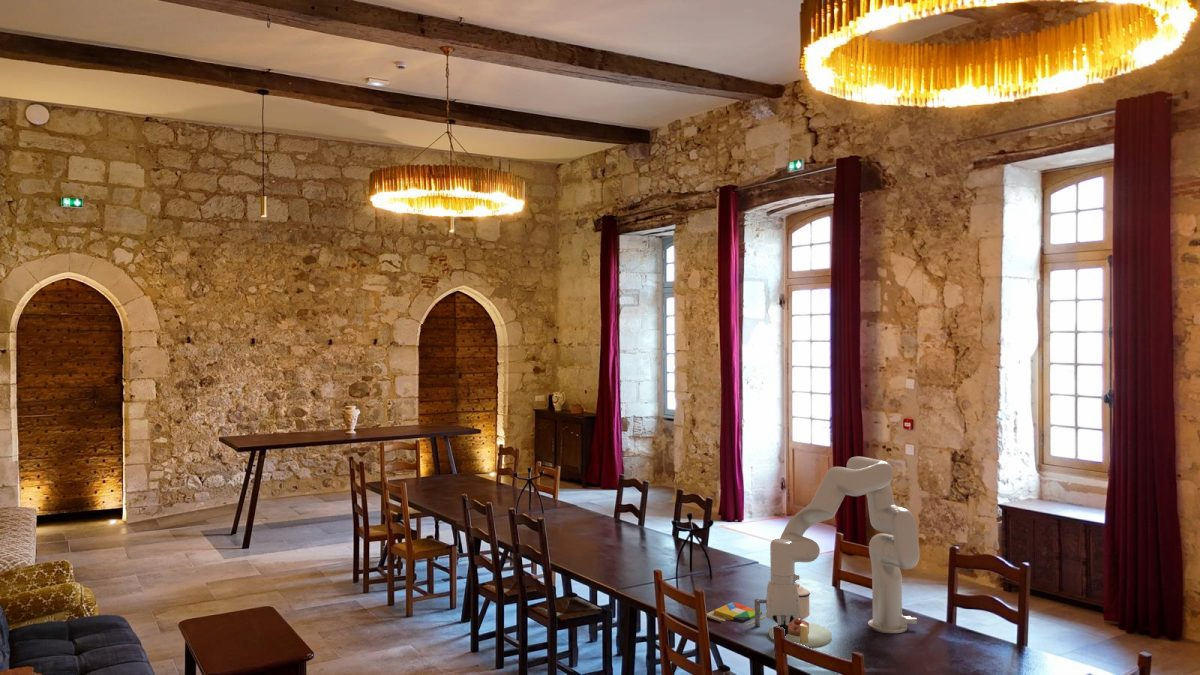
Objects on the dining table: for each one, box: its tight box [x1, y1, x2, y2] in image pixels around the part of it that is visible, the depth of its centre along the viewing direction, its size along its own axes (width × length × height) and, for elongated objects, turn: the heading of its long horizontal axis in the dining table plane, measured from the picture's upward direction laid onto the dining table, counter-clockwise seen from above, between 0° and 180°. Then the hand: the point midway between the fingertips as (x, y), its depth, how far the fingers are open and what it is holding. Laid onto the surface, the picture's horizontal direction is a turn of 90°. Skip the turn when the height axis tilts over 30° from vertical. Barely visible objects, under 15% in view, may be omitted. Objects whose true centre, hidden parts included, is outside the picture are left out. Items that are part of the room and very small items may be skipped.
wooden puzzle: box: [706, 601, 767, 627], centre depth 305 cm, size 18×19×4 cm
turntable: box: [768, 622, 833, 648], centre depth 282 cm, size 20×20×6 cm
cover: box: [788, 618, 810, 636], centre depth 282 cm, size 7×7×5 cm
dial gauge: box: [753, 598, 766, 628], centre depth 292 cm, size 12×5×11 cm, turn 85°
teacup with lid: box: [796, 582, 811, 619], centre depth 304 cm, size 12×9×12 cm
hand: (783, 636), depth 274 cm, fingers closed
